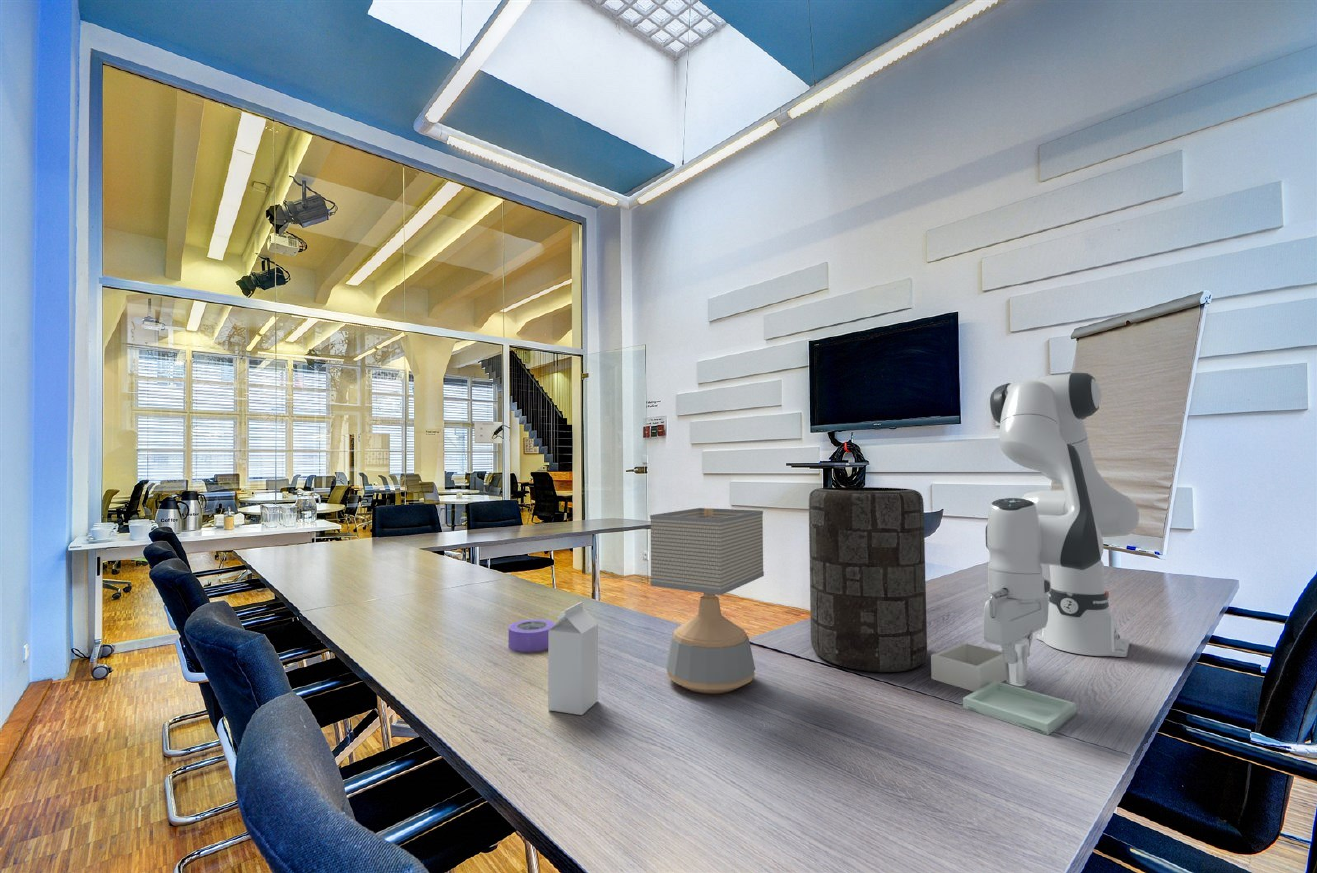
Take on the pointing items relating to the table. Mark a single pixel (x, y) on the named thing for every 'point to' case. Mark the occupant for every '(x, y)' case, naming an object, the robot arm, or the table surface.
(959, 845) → the table surface
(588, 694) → the milk carton
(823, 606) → the planter
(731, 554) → the desk lamp
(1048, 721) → the tray
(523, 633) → the tape roll
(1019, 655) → the milkshake
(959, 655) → the frame
